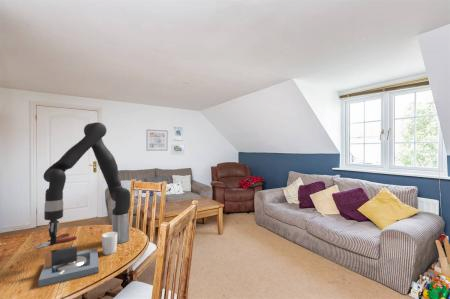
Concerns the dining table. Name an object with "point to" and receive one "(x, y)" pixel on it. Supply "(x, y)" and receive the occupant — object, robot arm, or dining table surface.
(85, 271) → the housing
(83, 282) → the dining table surface
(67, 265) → the dial
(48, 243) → the pliers
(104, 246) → the white cup
